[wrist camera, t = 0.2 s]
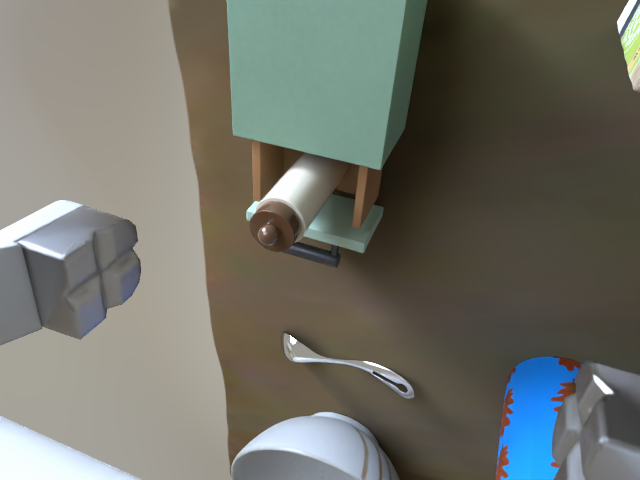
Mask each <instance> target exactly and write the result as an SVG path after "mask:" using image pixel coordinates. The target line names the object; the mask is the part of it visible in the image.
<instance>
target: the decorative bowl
mask: <svg viewBox="0 0 640 480" xmlns="http://www.w3.org/2000/svg"><path fill="white" fill-rule="evenodd" d="M231 476H232V480H399V477H398V475H397V473H396V471H395V468H394V467H393V465H392V463H391V461H390V460H389V458H388V457H387V455H386V454H385V453H384V451H383V450H382V449H381V448H380V447H379V444H378V442H377V440H376V438H375V437H374V435H373V434H372V433H371V432H370V431H369V430H368V429H367V428H366V427H364V426H363V425H362V424H360V423H359V422H357V421H355V420H353V419H351V418H349V417H347V416H344V415H341V414H337V413H330V412H321V413H317V414H314V415H312V416H302V417H296V418H292V419H288V420H286V421H283V422H280V423H278V424H276V425H274V426H272V427H270V428H268V429H267V430H265V431H264V432H262V433H261V434H259V435H258V436H257V437H255V438H254V439H253V440H252V441H251V442H249V443H248V444H247V445H246V446H245V447H244V448H243V449H242V450H241V451H240V452H239V454H238V455H237V456H236V458H235V459H234V461H233V463H232V467H231Z"/></svg>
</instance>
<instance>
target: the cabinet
mask: <svg viewBox="0 0 640 480" xmlns="http://www.w3.org/2000/svg"><path fill="white" fill-rule="evenodd" d="M426 5H427V0H227V12H228V33H229V55H230V76H231V98H232V119H233V135H235V136H239V137H244V138H248V139H252V140H256V141H260V142H264V143H269V144H273V145H277V146H281V147H285V148H289V149H294V150H298V151H302V152H306V153H310V154H315V155H319V156H323V157H327V158H331V159H335V160H340V161H344V162H348V163H352V164H356V165H360V166H365V167H369V168H373V169H377V170H381V169H382V167H383V165H384V163H385V162H386V160H387V158H388V156H389V155H390V153H391V151H392V150H393V148H394V146H395V145H396V143H397V141H398V139H399V138H400V136H401V134H402V133H403V131H404V129H405V125H406V119H407V113H408V108H409V102H410V96H411V91H412V85H413V79H414V74H415V68H416V62H417V57H418V51H419V45H420V40H421V34H422V28H423V23H424V17H425V11H426Z"/></svg>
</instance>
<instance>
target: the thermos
mask: <svg viewBox="0 0 640 480" xmlns="http://www.w3.org/2000/svg"><path fill="white" fill-rule="evenodd" d="M581 366H582V364H580V363H578V362H576V361H574V360H570V359H565V358H560V357H536V358H533V359H529V360H526V361H523V362H522V363H520V364H519V365H518V366H516V367H515V368H513V370H512V372H511V374H510V376H509V378H508V382H507V388H506V393H505V399H504V405H503V414H502V423H501V433H500V442H499V451H498V460H497V470H496V479H495V480H553V479H554V477H555V475H556V473H557V472H558V470H559V468H560V467H559V466H558V464H557V463H556V461H555V460H554V458H553V457H552V437H553V429H554V425H555V422H556V418H557V414H558V412H559V409H560V407H561V405H562V403H563V401H564V399H565V397H568V396H570V395H572V394H575V393H576V382H575V377H576V375H577V373H578V371H579V369H580V368H581Z"/></svg>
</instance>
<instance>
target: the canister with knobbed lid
mask: <svg viewBox="0 0 640 480" xmlns="http://www.w3.org/2000/svg"><path fill="white" fill-rule="evenodd" d="M348 168H349V163H348V162H344V161H340V160H335V159H331V158H327V157H323V156H319V155H315V154H310V153H306V152H304V153H303V154H302V155H301V156H300V157H299V158H298V159H297V160H296V162H295V163H294V164H293V165H292V166H291V167H290V168H289V169H288V171H287V172H286V173H285V174H284V175H283V176H282V177H281V178H280V180H279V181H278V182H277V183H276V184H275V185H274V186H273V187H272V189H271V190H270V191H269V192H268V193H267V194H266V195H265V196H264V198H263V199H262V200H261V201H260V202H259V203H258V205H257V206H256V210H255V213H254V214H253V216H252V217H251V219H250V223H249V227H250V232H251V234H252V236H253V238H254V239H255V240H256V241H257V242H258V243H259V244H260V245H261V246H262V247H264V248H266V249H268V250H270V251H274V252H283V251H286V250H288V249H289V248H290V247H291V246H292V245H293V243H295V242H297V241H299V240H300V239H301V238H302V237H303V235H304V234H305V233H306V231H307V230H308V228H309V227H310V225H311V224H312V222H313V221H314V220H315V218H316V217H317V215H318V214H319V212H320V211H321V209H322V208H323V207H324V205H325V204H326V202H327V201H328V199H329V198H330V196H331V195H332V194H333V192H334V191H335V189H336V188H337V186H338V185H339V183H340V182H341V181H342V179H343V178H344V176H345V175H346V173H347V171H348Z"/></svg>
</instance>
